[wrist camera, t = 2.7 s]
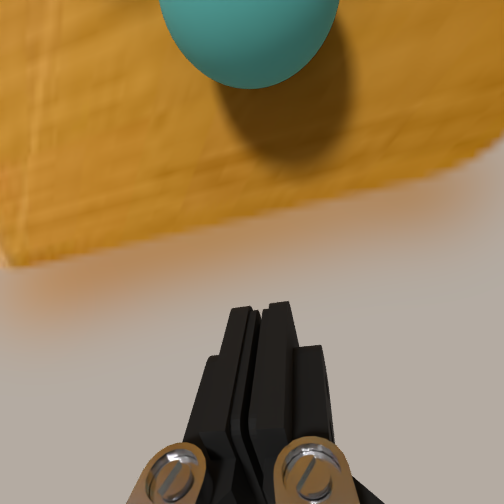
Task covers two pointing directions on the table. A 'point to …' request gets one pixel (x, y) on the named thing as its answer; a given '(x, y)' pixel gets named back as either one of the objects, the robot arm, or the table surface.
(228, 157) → the table surface
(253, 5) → the ball
